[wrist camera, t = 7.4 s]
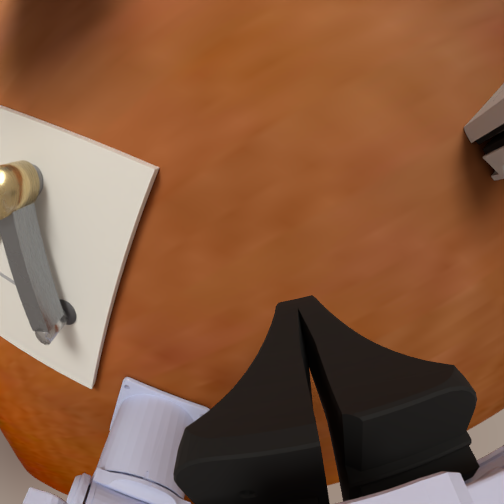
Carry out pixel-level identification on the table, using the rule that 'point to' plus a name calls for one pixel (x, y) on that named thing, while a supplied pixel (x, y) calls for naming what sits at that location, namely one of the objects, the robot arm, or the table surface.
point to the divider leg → (28, 250)
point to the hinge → (490, 132)
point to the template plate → (73, 236)
